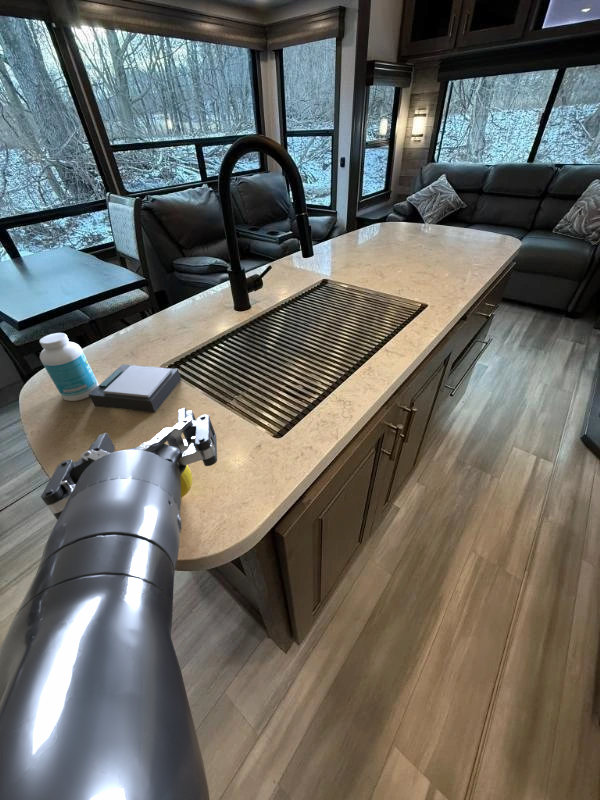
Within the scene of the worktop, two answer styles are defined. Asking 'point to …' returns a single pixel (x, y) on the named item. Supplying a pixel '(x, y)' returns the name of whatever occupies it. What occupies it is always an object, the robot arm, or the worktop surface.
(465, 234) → the worktop surface
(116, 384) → the scale
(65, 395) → the pill bottle
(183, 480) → the lemon
